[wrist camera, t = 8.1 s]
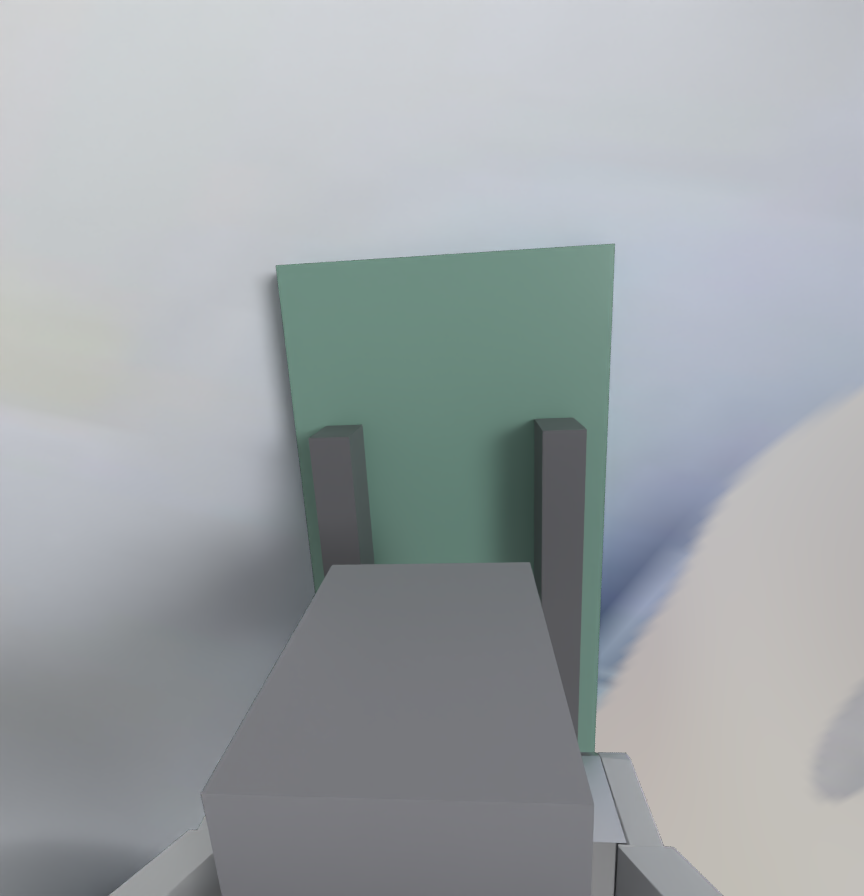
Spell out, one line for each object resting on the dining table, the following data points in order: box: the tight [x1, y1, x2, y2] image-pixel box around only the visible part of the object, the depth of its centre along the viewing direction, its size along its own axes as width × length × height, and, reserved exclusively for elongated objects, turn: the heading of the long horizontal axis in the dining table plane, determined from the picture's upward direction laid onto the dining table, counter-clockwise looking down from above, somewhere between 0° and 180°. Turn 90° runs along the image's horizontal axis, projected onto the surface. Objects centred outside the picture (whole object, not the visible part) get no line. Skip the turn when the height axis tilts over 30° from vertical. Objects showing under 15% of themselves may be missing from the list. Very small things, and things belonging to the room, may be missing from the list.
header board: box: [276, 244, 615, 752], centre depth 14 cm, size 10×24×8 cm, turn 3°
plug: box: [201, 562, 594, 896], centre depth 8 cm, size 4×7×5 cm, turn 3°
